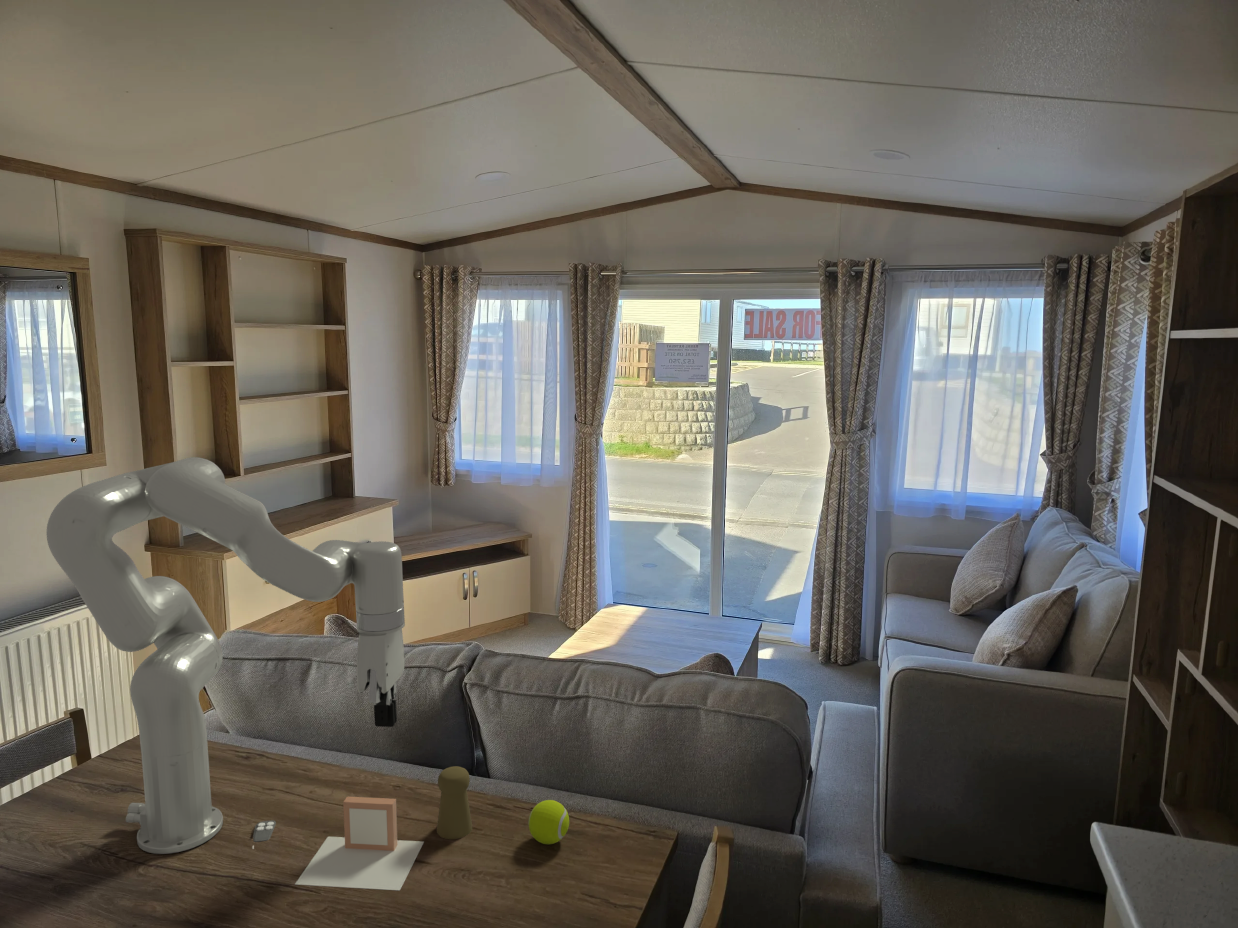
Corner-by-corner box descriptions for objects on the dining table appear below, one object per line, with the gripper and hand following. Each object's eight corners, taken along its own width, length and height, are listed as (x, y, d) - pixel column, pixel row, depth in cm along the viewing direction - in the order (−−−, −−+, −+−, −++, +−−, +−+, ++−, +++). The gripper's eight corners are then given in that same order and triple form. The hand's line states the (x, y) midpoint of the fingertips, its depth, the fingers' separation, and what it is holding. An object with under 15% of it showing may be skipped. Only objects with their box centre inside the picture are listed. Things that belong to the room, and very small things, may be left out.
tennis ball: (539, 824, 141) (539, 788, 140) (575, 833, 139) (576, 796, 138) (521, 847, 135) (521, 809, 134) (558, 856, 132) (558, 818, 131)
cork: (464, 844, 135) (463, 782, 133) (430, 839, 136) (428, 777, 135) (478, 823, 141) (477, 763, 139) (445, 819, 142) (443, 759, 140)
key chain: (254, 828, 140) (254, 820, 139) (278, 825, 141) (278, 817, 140) (239, 876, 127) (238, 868, 127) (265, 873, 128) (264, 864, 128)
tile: (344, 848, 133) (342, 802, 131) (349, 841, 134) (347, 796, 133) (393, 851, 132) (392, 804, 131) (397, 844, 134) (396, 798, 133)
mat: (295, 887, 124) (294, 883, 124) (328, 839, 136) (327, 836, 136) (399, 893, 123) (399, 889, 123) (424, 844, 135) (423, 841, 135)
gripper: (374, 603, 142) (379, 704, 145) (339, 634, 128) (346, 745, 131) (417, 603, 142) (421, 705, 145) (387, 635, 127) (393, 747, 130)
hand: (386, 724), depth 138 cm, fingers closed
